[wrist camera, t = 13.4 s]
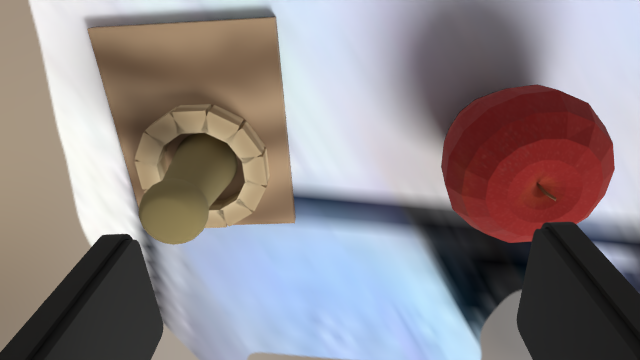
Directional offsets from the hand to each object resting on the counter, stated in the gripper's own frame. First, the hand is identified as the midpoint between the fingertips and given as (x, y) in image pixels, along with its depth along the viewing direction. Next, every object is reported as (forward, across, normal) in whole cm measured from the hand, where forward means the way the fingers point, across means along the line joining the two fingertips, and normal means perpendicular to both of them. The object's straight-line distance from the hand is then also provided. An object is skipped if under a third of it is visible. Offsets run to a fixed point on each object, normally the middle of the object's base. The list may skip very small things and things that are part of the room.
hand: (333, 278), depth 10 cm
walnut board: (+30, +13, +7) cm, 34 cm away
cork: (+30, +13, +10) cm, 34 cm away
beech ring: (+29, +13, +10) cm, 34 cm away
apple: (+31, -14, +8) cm, 34 cm away
